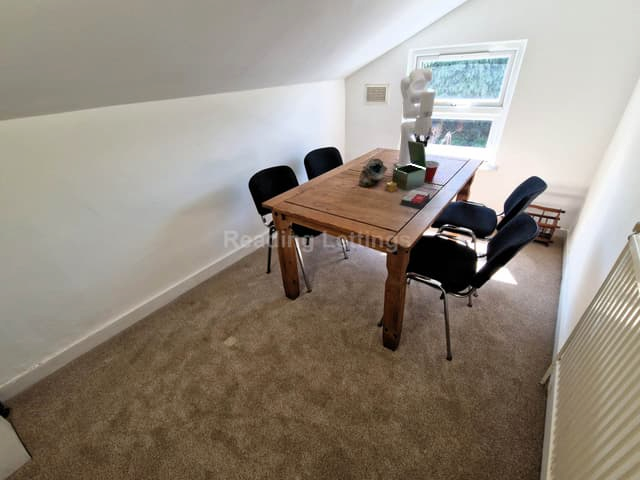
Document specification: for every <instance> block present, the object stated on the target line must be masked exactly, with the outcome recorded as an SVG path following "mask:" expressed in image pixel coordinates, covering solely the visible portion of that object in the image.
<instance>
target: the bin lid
mask: <svg viewBox="0 0 640 480" xmlns="http://www.w3.org/2000/svg"><path fill="white" fill-rule="evenodd" d="M423 141H424V140H421V139H420V140H417V141H416V140H415V141H410V140H408V148H409V155H410V162H411V164H413V165H416V166H419V167H422V168H427V166H426V161H427V158H426V147H425V146H424V144H423Z"/></svg>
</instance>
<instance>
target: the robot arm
mask: <svg viewBox="0 0 640 480" xmlns="http://www.w3.org/2000/svg"><path fill="white" fill-rule="evenodd" d="M433 78H434V72H433V70H432V69H431V68H429V67H426V68H425V67H423V68H414V69H413V70H411V71H410V73H409V75H408V76H404V77H402V79H401V81H400V86H399V87H400V94H401V97H402V117H403V119H404V120H407V121H403V122H402V123H401V124H400V143H399V154H398V156H397V157H396V158H395V161H396V163H395V166H396V167H397V168H398V167H402V166H405V165H409V164H411V162H410V155H409V148H408V140H410V141H414V139H415V141H414V142H416V141H417V140H421V137H422V136H423V140H422V141H423V144H424V146H425V148H427V147H428V143H429V140H430V139H431V138H432V137H434V134H433V123H434V121H433V112H434V104H435V98H436V97H435V96H436V91H435V90H433V88H428V87H429V85H430V84H431V83H432V81H433ZM412 136H414V138H413V137H412Z"/></svg>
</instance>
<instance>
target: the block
mask: <svg viewBox="0 0 640 480" xmlns="http://www.w3.org/2000/svg"><path fill="white" fill-rule="evenodd" d="M396 186H397V184H396V183H394V182H392V181H388V182H386V184H385V191H388V193H393V192H395V191H397V187H396Z"/></svg>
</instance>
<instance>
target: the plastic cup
mask: <svg viewBox="0 0 640 480" xmlns="http://www.w3.org/2000/svg"><path fill="white" fill-rule="evenodd" d="M426 166H427V168H425V169H426V172H425V179H424V183H432V182H433V181H434V178H435V176H436V173H437V170H438V168H439V167H440V162H438V161H436V160H426Z"/></svg>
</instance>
